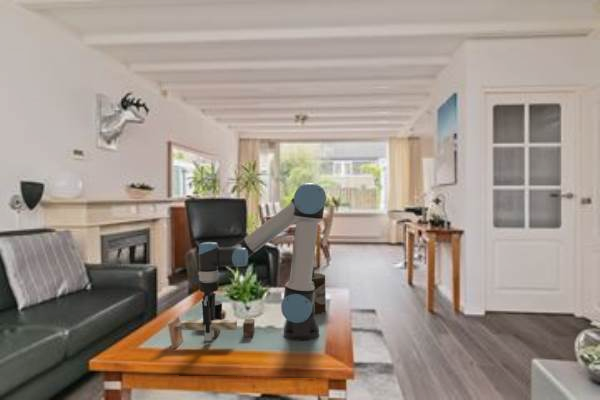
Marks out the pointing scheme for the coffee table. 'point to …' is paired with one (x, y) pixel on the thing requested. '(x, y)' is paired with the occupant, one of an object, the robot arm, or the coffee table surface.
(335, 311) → the coffee table surface
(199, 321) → the beige stone bar
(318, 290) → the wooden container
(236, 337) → the coffee table surface
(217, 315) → the mug
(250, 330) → the tool rest
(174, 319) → the tile
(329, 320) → the coffee table surface
